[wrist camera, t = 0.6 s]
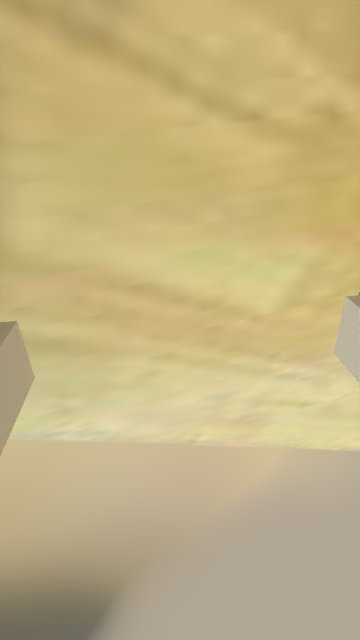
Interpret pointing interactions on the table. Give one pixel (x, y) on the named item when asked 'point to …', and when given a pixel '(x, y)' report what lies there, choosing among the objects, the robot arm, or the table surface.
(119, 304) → the table surface
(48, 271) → the table surface
